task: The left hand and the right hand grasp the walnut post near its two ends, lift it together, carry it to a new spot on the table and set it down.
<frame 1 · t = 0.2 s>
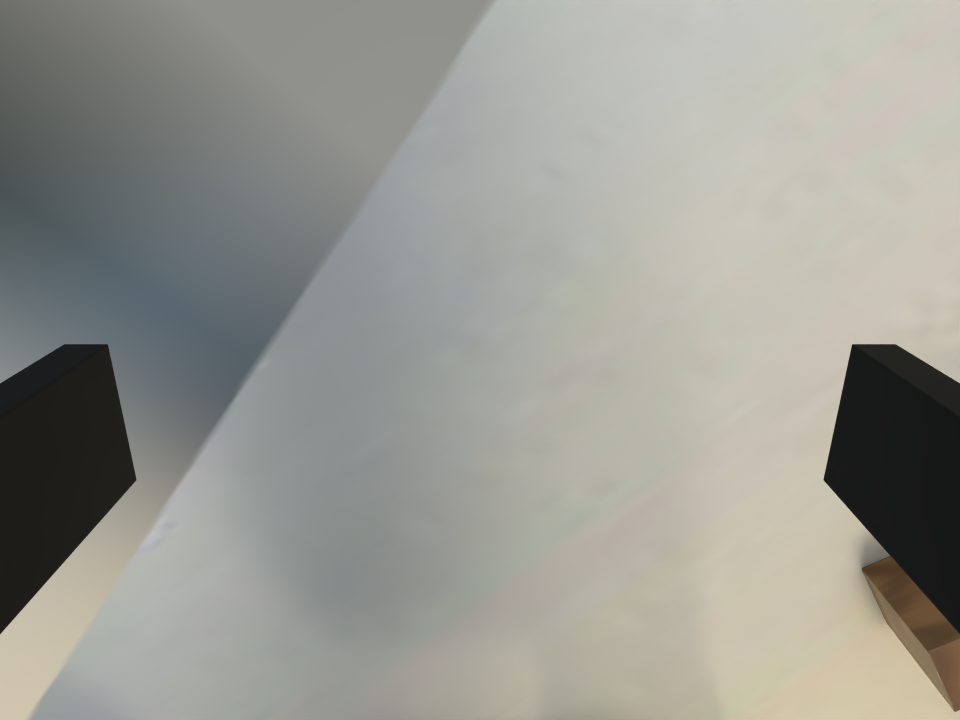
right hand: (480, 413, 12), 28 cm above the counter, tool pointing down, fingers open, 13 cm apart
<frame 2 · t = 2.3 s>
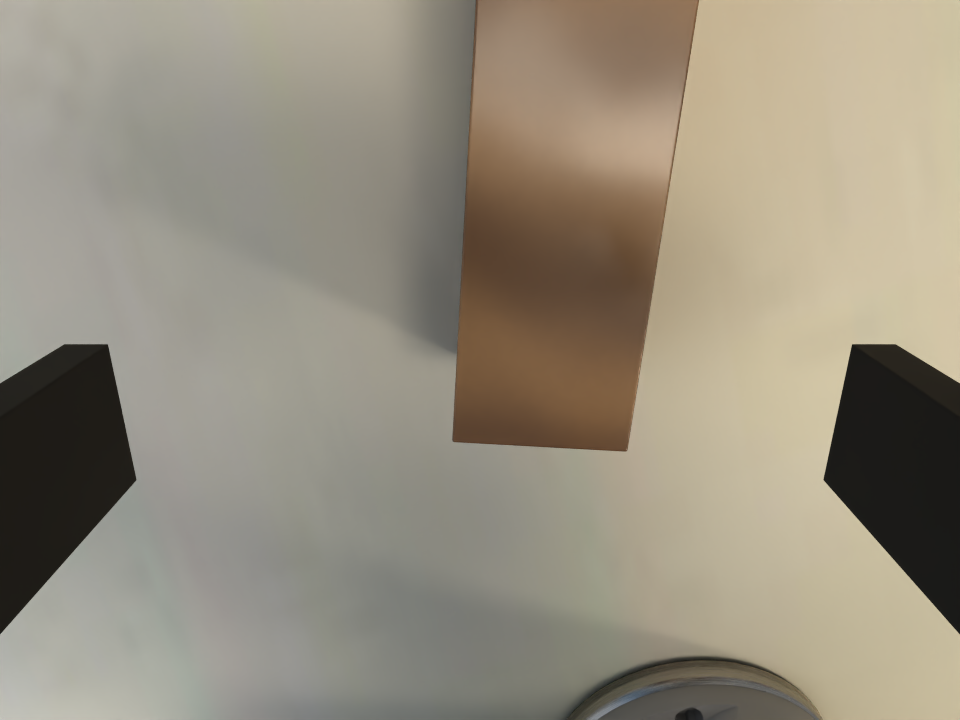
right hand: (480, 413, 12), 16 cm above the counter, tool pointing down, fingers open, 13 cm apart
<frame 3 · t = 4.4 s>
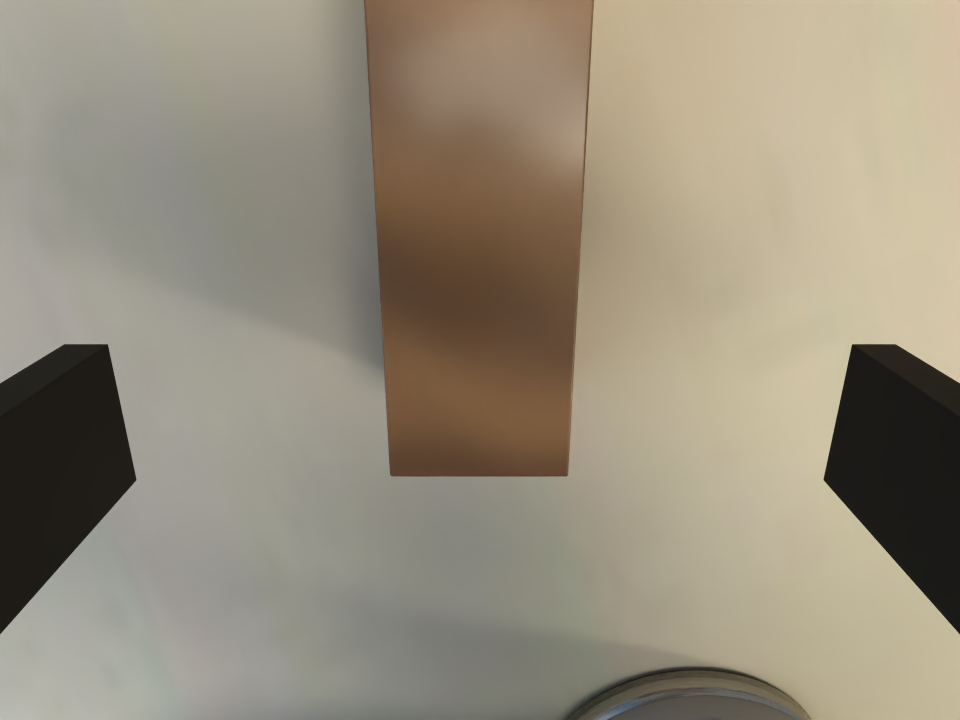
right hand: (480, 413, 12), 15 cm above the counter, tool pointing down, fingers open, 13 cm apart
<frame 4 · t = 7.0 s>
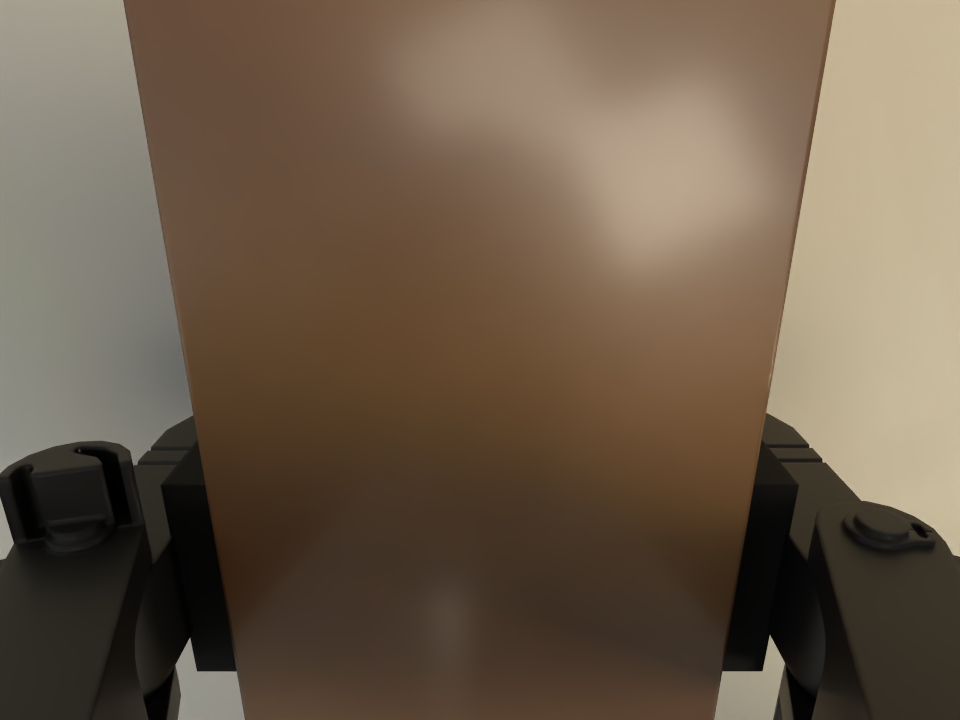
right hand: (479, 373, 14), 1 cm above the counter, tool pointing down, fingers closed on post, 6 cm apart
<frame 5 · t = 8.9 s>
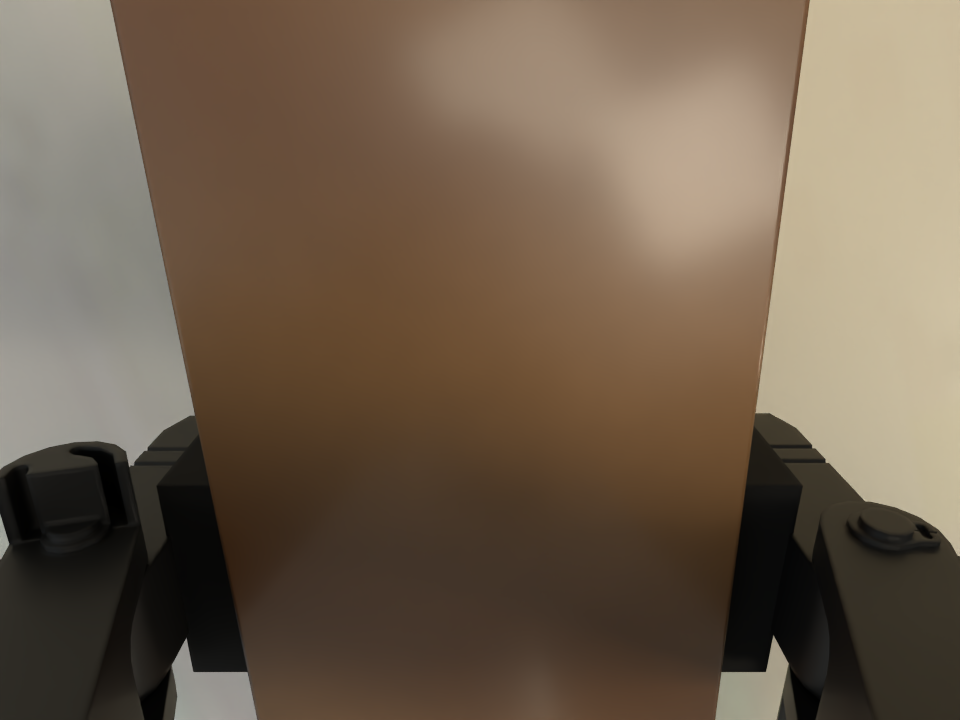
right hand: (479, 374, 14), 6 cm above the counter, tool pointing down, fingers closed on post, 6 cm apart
when the right hand's fingers open (2 cm above the counter, at t = 10.8 s): post stays where it is, point 1 cm above the counter.
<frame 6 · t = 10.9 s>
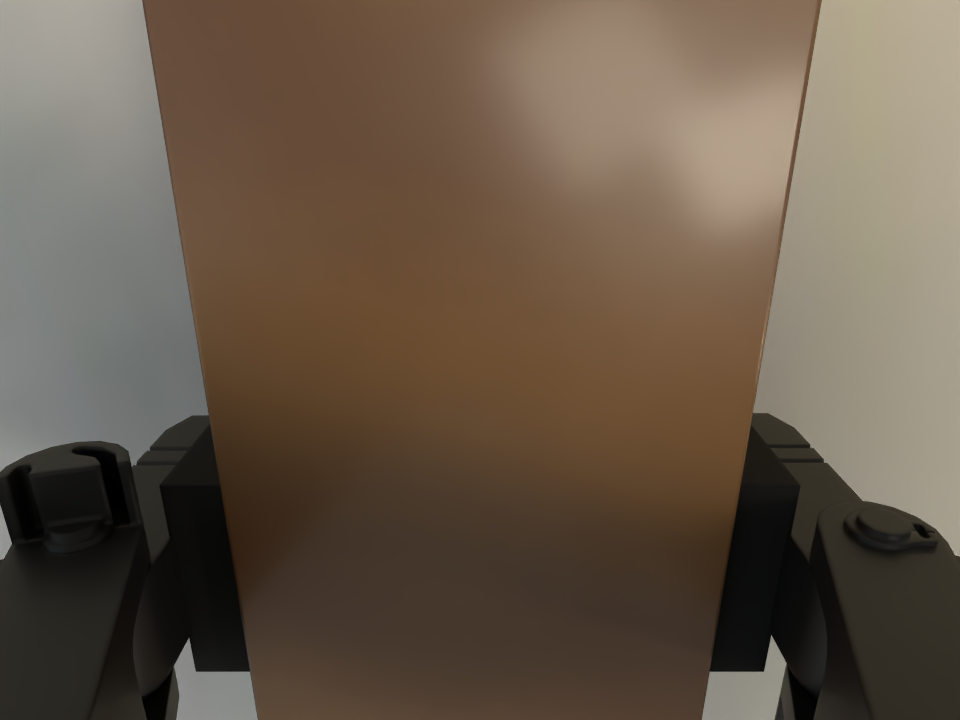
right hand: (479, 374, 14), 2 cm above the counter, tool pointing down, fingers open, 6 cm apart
when the left hand's fingers open (4 cm above the counter, at t = 11.0 s): post stays where it is, on the counter.
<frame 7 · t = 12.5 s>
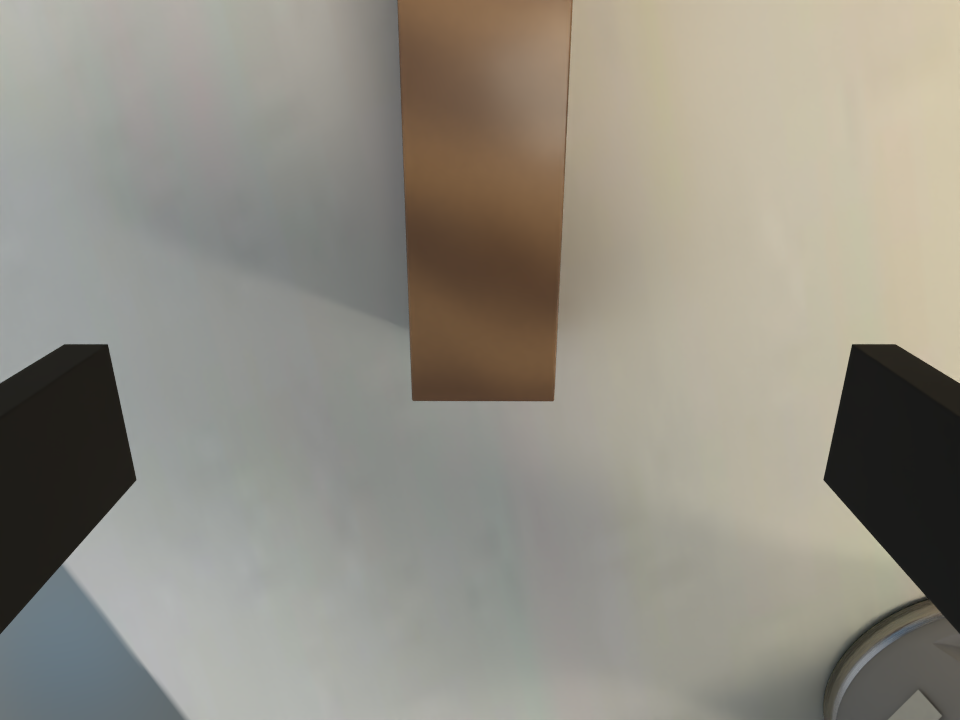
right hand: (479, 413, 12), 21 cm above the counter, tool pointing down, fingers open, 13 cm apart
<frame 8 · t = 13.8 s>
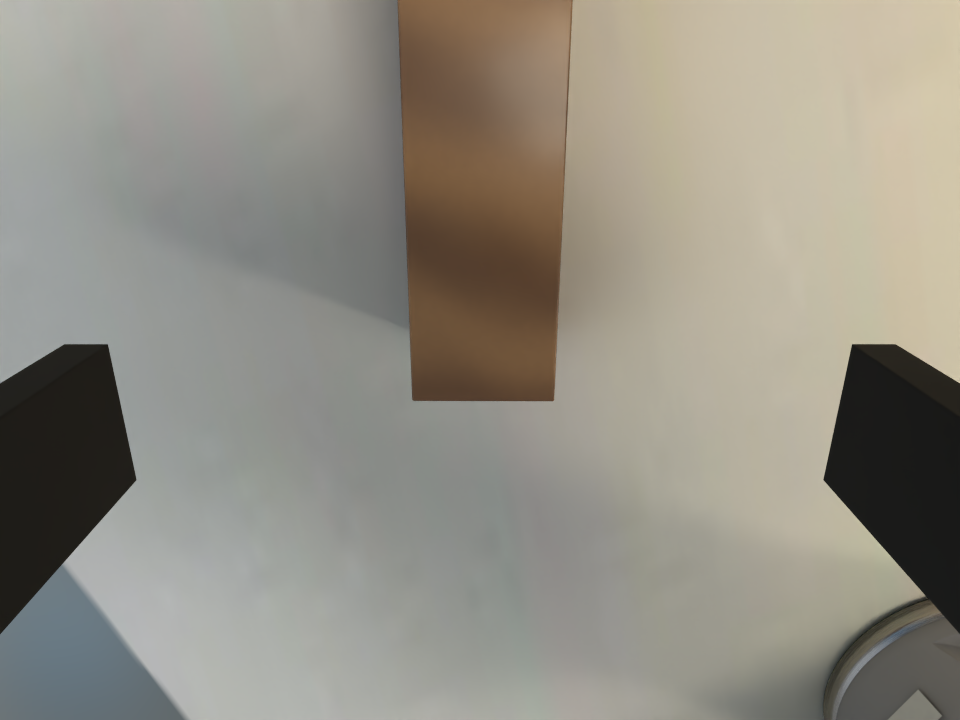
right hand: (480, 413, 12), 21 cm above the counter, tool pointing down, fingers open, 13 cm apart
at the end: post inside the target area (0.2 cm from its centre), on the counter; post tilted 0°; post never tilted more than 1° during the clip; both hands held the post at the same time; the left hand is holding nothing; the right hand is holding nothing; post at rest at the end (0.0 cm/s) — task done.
